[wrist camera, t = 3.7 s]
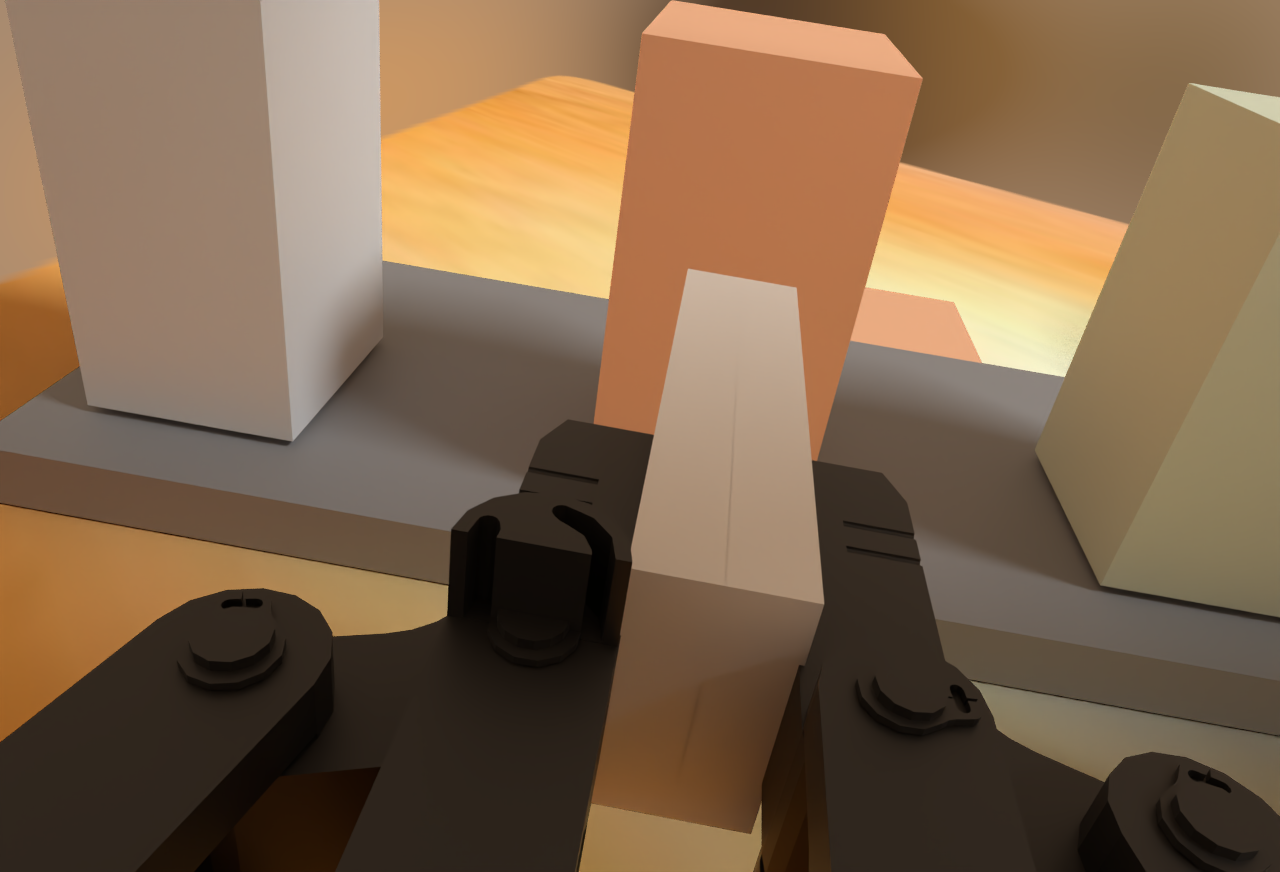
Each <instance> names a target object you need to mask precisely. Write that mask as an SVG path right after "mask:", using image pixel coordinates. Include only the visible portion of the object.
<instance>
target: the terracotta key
mask: <svg viewBox="0 0 1280 872" xmlns="http://www.w3.org/2000/svg"><path fill="white" fill-rule="evenodd" d="M922 80H923V78H922V77H921V76H920V75H919V74H918V73H917V71H916V70H915V69H914V68H913V67H912V66H911V64H910V63H909V62H908V61H907V60H906V59H905V57H904V56H903V55H902V54H901V53H900V52H899V51H898V49H897V48H896V47H895V46H894V45H893V43H892V42H891V41H890V40H889V39H888V38H887V36H886V35H885V34H878V33H873V32H866V31H860V30H854V29H848V28H841V27H835V26H829V25H823V24H816V23H810V22H804V21H798V20H791V19H785V18H778V17H773V16H766V15H760V14H754V13H748V12H741V11H735V10H729V9H722V8H717V7H710V6H704V5H698V4H691V3H685V2H679V1H672V0H671V2H670V3H669V4H668V5H667V6H666V7H665V8H664V9H663V11H662V12H661V13H660V14H659V15H658V16H657V17H656V18H655V19H654V20H653V22H652V23H651V24H650V25H649V26H648V27H647V28H646V29H645V31H644V32H643V33H642V38H641V46H640V54H639V62H638V71H637V78H636V86H635V94H634V102H633V110H632V118H631V126H630V134H629V142H628V150H627V158H626V166H625V175H624V183H623V191H622V199H621V207H620V215H619V223H618V231H617V239H616V247H615V255H614V263H613V271H612V279H611V287H610V295H609V303H608V311H607V320H606V328H605V336H604V344H603V352H602V360H601V368H600V376H599V384H598V392H597V400H596V408H595V416H594V424H597V425H603V426H608V427H614V428H619V429H625V430H630V431H636V432H641V433H647V434H652V435H654V433H655V428H656V423H657V418H658V413H659V408H660V403H661V399H662V394H663V389H664V384H665V379H666V374H667V369H668V364H669V359H670V354H671V349H672V345H673V340H674V335H675V330H676V325H677V320H678V315H679V310H680V305H681V300H682V296H683V291H684V286H685V281H686V276H687V271H688V269H693V270H699V271H705V272H710V273H716V274H722V275H727V276H733V277H739V278H744V279H750V280H756V281H762V282H767V283H773V284H779V285H784V286H790V287H796V288H797V298H798V310H799V321H800V332H801V344H802V355H803V367H804V378H805V390H806V401H807V412H808V424H809V435H810V447H811V458H812V460H814V461H817V459H818V455H819V451H820V448H821V444H822V441H823V437H824V433H825V430H826V426H827V423H828V419H829V415H830V412H831V408H832V405H833V401H834V397H835V394H836V390H837V386H838V383H839V379H840V376H841V372H842V368H843V365H844V361H845V358H846V354H847V350H848V347H849V343H850V340H851V336H852V332H853V329H854V325H855V322H856V318H857V314H858V311H859V307H860V303H861V300H862V296H863V293H864V289H865V285H866V282H867V278H868V275H869V271H870V267H871V264H872V260H873V257H874V253H875V249H876V246H877V242H878V238H879V235H880V231H881V228H882V224H883V220H884V217H885V213H886V210H887V206H888V202H889V199H890V195H891V192H892V188H893V184H894V181H895V177H896V174H897V170H898V166H899V163H900V159H901V155H902V152H903V148H904V145H905V141H906V137H907V134H908V130H909V126H910V123H911V119H912V116H913V112H914V108H915V105H916V101H917V98H918V94H919V90H920V87H921V83H922Z"/></svg>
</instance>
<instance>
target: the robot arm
mask: <svg viewBox="0 0 1280 872" xmlns="http://www.w3.org/2000/svg"><path fill="white" fill-rule="evenodd" d="M914 534H915V533H914V529H913V524H912V520H911V516H910V512H909V508H908V504H907V502H906V501H905V499H904V498H903V497H902V496H901V495H900V493H899V492H898V491H897V490H896V489H895V487H894V486H893V485H892V484H891V483H890V481H889V480H888V479H887V478H886V477H885V476H884V474H883V473H880V472H875V471H869V470H864V469H858V468H853V467H847V466H842V465H836V464H831V463H825V462H820V461H814V460H812V458H811V447H810V435H809V424H808V412H807V401H806V390H805V378H804V367H803V355H802V344H801V332H800V321H799V310H798V298H797V288H796V287H790V286H784V285H779V284H773V283H767V282H762V281H756V280H750V279H744V278H739V277H733V276H727V275H722V274H716V273H710V272H705V271H699V270H693V269H688V271H687V276H686V281H685V286H684V291H683V296H682V300H681V305H680V310H679V315H678V320H677V325H676V330H675V335H674V340H673V345H672V349H671V354H670V359H669V364H668V369H667V374H666V379H665V384H664V389H663V394H662V399H661V403H660V408H659V413H658V418H657V423H656V428H655V433H654V435H652V434H647V433H641V432H636V431H630V430H625V429H619V428H614V427H608V426H603V425H597V424H591V423H586V422H580V421H575V420H569V419H568V420H566V421H565V422H564V423H562V424H561V425H559V426H558V427H557V428H555V429H554V430H552V431H551V432H550V433H548V434H547V435H545V436H544V437H543V438H541V439H540V441H539V443H538V446H537V448H536V450H535V453H534V455H533V458H532V460H531V462H530V465H529V469H528V472H526V475H525V477H524V479H523V482H522V484H521V487H520V489H519V493H518V494H512V495H506V496H500V497H494V498H492V499H490V500H488V501H486V502H483V503H481V504H479V505H477V506H475V507H473V508H471V509H469V510H467V511H466V513H465V514H464V515H463V516H462V517H461V518H460V519H459V521H458V522H457V523H456V524H455V525H454V526H453V527H452V528H451V541H450V564H449V587H448V611H447V616H446V617H444V618H442V619H441V620H439V621H437V622H435V623H431V624H428V625H425V626H422V627H419V628H416V629H413V630H407V631H400V632H393V633H386V634H371V635H353V636H336V637H333V636H332V631H331V629H330V627H329V626H328V624H327V622H326V620H325V619H324V617H323V615H322V614H321V612H320V610H318V609H316V608H315V607H313V606H312V605H310V604H308V603H307V602H305V601H304V600H302V599H300V598H299V597H297V596H296V595H291V594H286V593H282V592H277V591H273V590H268V589H264V588H262V589H240V590H225V591H222V592H218V593H215V594H211V595H208V596H204V597H201V598H197V599H194V600H190V601H188V602H187V603H185V604H183V605H181V606H180V607H178V608H176V609H174V610H173V611H171V612H169V613H168V614H166V615H164V616H162V617H161V618H159V619H157V620H156V621H155V622H153V623H152V624H151V625H150V626H148V627H147V628H146V629H145V630H143V631H142V632H141V633H139V634H138V635H137V636H136V637H134V638H133V639H132V640H130V641H129V642H128V643H127V644H125V645H124V646H123V647H122V648H120V649H119V650H118V651H116V652H115V653H114V654H113V655H111V656H110V657H109V658H107V659H106V660H105V661H104V662H102V663H101V664H100V665H99V666H97V667H96V668H95V669H93V670H92V671H91V672H90V673H88V674H87V675H86V676H84V677H83V678H82V679H81V680H79V681H78V682H77V683H75V684H74V685H73V686H72V687H70V688H69V689H68V690H67V691H65V692H64V693H63V694H61V695H60V696H59V697H58V698H56V699H55V700H54V701H52V702H51V703H50V704H49V705H47V706H46V707H45V708H44V709H42V710H41V711H40V712H38V713H37V714H36V715H35V716H33V717H32V718H31V719H29V720H28V721H27V722H26V723H24V724H23V725H22V726H21V727H19V728H18V729H17V730H15V731H14V732H13V733H12V734H10V735H9V736H8V737H6V738H5V739H4V740H3V741H1V742H0V872H579V867H580V862H581V856H582V850H583V845H584V839H585V833H586V827H587V822H588V816H589V811H590V806H591V803H593V804H598V805H603V806H608V807H614V808H619V809H624V810H629V811H634V812H639V813H645V814H650V815H655V816H660V817H665V818H671V819H676V820H681V821H686V822H691V823H697V824H702V825H707V826H712V827H717V828H723V829H728V830H733V831H738V832H743V833H748V834H751V832H752V829H753V826H754V823H755V820H756V817H757V813H758V810H759V807H760V804H761V801H762V847H761V850H760V853H759V856H758V859H757V862H756V865H755V868H754V871H753V872H1280V816H1279V815H1278V814H1277V813H1276V812H1275V811H1274V810H1273V809H1272V808H1271V807H1270V806H1269V805H1268V804H1267V803H1266V802H1265V801H1264V800H1262V799H1261V798H1260V797H1259V796H1257V795H1256V794H1254V793H1253V792H1251V791H1250V790H1248V789H1247V788H1245V787H1244V786H1242V785H1241V784H1239V783H1238V782H1236V781H1235V780H1233V779H1232V778H1230V777H1229V776H1227V775H1226V774H1224V773H1222V772H1220V771H1217V770H1215V769H1213V768H1210V767H1208V766H1205V765H1203V764H1201V763H1198V762H1196V761H1193V760H1191V759H1189V758H1186V757H1180V756H1174V755H1168V754H1161V753H1155V752H1149V753H1145V754H1140V755H1135V756H1131V757H1126V758H1124V759H1123V760H1122V762H1121V763H1120V764H1119V765H1118V766H1117V767H1116V768H1115V769H1114V770H1113V771H1112V772H1111V773H1110V774H1109V776H1108V778H1107V779H1106V781H1105V782H1102V781H1100V780H1098V779H1096V778H1093V777H1091V776H1089V775H1086V774H1084V773H1082V772H1080V771H1077V770H1075V769H1073V768H1070V767H1068V766H1066V765H1064V764H1061V763H1059V762H1057V761H1054V760H1052V759H1050V758H1048V757H1045V756H1043V755H1041V754H1038V753H1036V752H1034V751H1032V750H1030V749H1029V748H1027V747H1025V746H1023V745H1021V744H1019V743H1017V742H1015V741H1013V740H1011V739H1010V738H1008V737H1007V736H1005V735H1004V734H1003V733H1001V732H1000V731H998V730H997V729H996V725H995V722H994V718H993V716H992V714H991V712H990V710H989V708H988V706H987V704H986V702H985V700H984V698H983V696H982V694H981V692H980V690H979V689H978V688H977V687H976V686H975V685H974V684H973V683H972V682H971V681H970V680H969V679H968V678H967V677H965V676H964V675H963V674H962V673H961V672H960V671H959V670H958V669H957V668H956V667H955V666H953V665H952V664H950V663H948V662H946V661H945V658H944V653H943V649H942V645H941V641H940V637H939V633H938V628H937V624H936V620H935V616H934V612H933V608H932V603H931V599H930V595H929V591H928V587H927V583H926V579H925V574H924V570H923V566H920V561H921V558H920V554H919V549H918V545H917V541H916V540H915V539H914Z"/></svg>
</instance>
